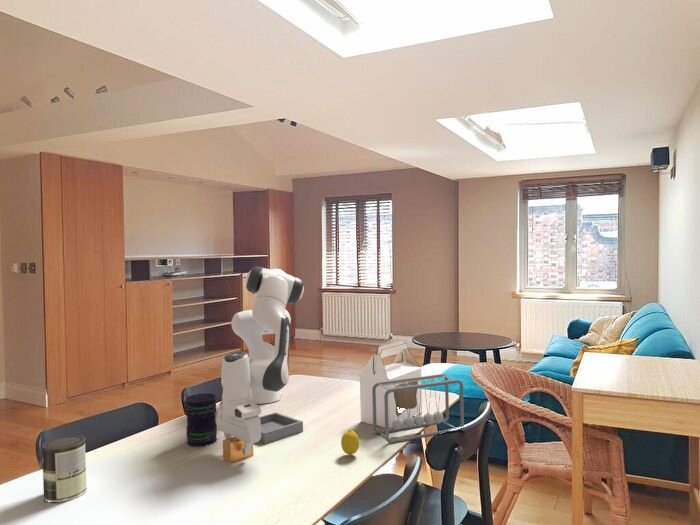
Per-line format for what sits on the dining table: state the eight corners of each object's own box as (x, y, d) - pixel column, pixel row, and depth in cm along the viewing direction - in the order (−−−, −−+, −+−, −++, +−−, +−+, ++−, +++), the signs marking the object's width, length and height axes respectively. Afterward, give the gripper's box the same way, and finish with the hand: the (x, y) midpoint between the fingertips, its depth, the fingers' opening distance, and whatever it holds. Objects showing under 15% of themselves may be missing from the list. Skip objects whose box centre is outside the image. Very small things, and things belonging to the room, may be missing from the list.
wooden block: (223, 459, 159) (222, 440, 159) (245, 452, 164) (245, 433, 164) (231, 463, 156) (230, 443, 156) (253, 455, 161) (252, 436, 161)
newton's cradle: (386, 444, 167) (385, 390, 167) (372, 434, 177) (371, 382, 176) (464, 430, 178) (463, 379, 178) (448, 421, 188) (446, 373, 188)
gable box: (389, 429, 182) (387, 349, 181) (360, 422, 190) (358, 346, 190) (422, 412, 199) (420, 340, 199) (394, 407, 207) (392, 337, 207)
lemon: (361, 453, 160) (361, 427, 160) (356, 460, 155) (355, 433, 155) (345, 451, 162) (344, 426, 162) (338, 458, 157) (338, 432, 157)
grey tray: (238, 432, 182) (238, 422, 182) (276, 421, 193) (275, 412, 193) (265, 443, 170) (264, 433, 170) (303, 431, 182) (302, 421, 182)
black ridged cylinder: (223, 438, 177) (222, 395, 176) (203, 448, 168) (202, 402, 168) (200, 434, 181) (199, 392, 181) (180, 444, 172) (178, 400, 172)
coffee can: (35, 504, 132) (33, 449, 132) (54, 486, 143) (53, 435, 142) (77, 501, 133) (75, 447, 133) (93, 484, 144) (91, 433, 143)
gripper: (210, 401, 165) (212, 444, 165) (246, 415, 150) (247, 462, 151) (228, 397, 169) (229, 439, 170) (264, 410, 155) (265, 455, 155)
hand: (238, 450), depth 160 cm, fingers open, 8 cm apart
